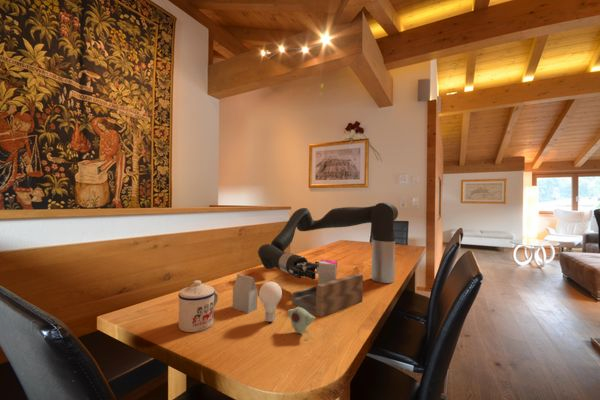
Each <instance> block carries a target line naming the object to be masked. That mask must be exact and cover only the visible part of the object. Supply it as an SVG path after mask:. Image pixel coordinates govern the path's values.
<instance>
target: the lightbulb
mask: <svg viewBox="0 0 600 400" xmlns="http://www.w3.org/2000/svg"><path fill="white" fill-rule="evenodd" d="M282 296H283V291H282V288H281V286H280V284H278V282H275V281H266V282H264V283H263V284H262V285H261V287H260V289H259V291H258V297H259V300H260V302H261V303H262V305H263V309H264V314H265V315H264V321H265V322H267V323H272V322H274V321H275V318H276V317H275V316H276V315H275V314H276V309H277V306H278V304H279V303H280V301H281V299H282Z"/></svg>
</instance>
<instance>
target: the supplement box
mask: <svg viewBox="0 0 600 400" xmlns="http://www.w3.org/2000/svg"><path fill="white" fill-rule="evenodd" d="M318 262H319V271H318V275H317V277H318V278H317V285H318V284H321V283H325V282H329V281H332V280H336V279H337V277H338V276H337V275H338V260H333V259H332V260H331V259H330V260H329V259H320V261H318Z"/></svg>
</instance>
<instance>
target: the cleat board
mask: <svg viewBox="0 0 600 400" xmlns="http://www.w3.org/2000/svg"><path fill="white" fill-rule="evenodd" d="M363 283H364V274H362V273H356V274H352V275H351V274H350V275H348V276H344V277H340V278H336V280H332V281H329V282H325V283H321V284H318V283H317V284H316V285H315V286H312V287H308V288H305V289H301V290H297V291H293V292H292V295H291V297H292V299H291V300H292V301H291V302H292V303H291V304H292V305H294V306H297V307H301V308H303V309H305V310H306V311H307V312H309V313H310V314H312V315H315V316H316V317H319V318H323V317H326V316H328V315H331V314H333V313H336V312H338V311H341V310H344V309H347V308H349V307H352V306H354V305H357V304H359V303H361V302H363V291H364V290H363V287H364V286H363Z"/></svg>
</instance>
